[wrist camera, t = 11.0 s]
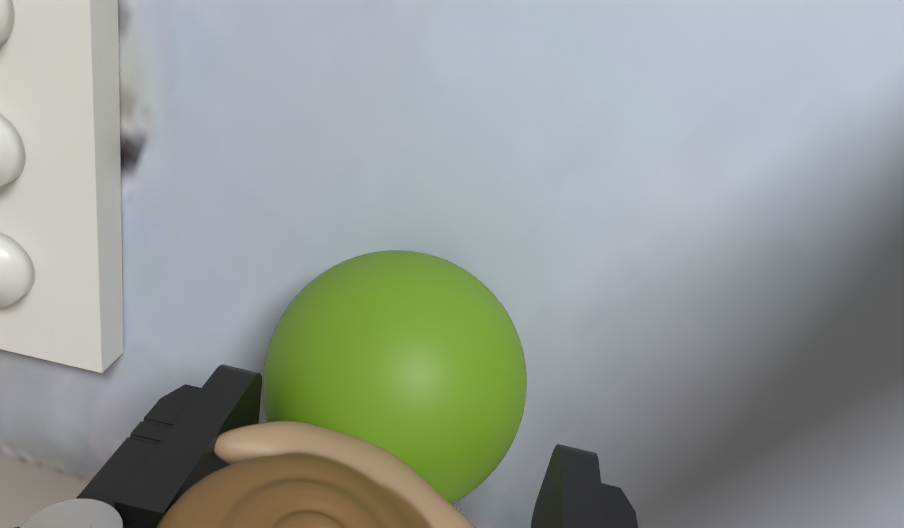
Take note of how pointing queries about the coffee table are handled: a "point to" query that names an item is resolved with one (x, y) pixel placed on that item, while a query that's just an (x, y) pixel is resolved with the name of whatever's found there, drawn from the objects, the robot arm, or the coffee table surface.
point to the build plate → (60, 182)
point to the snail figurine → (372, 404)
